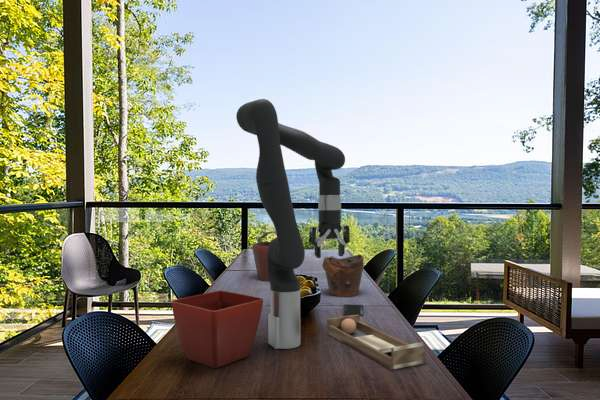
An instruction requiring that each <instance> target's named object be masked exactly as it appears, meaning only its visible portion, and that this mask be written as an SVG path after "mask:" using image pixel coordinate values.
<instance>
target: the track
mask: <svg viewBox="0 0 600 400" xmlns="http://www.w3.org/2000/svg"><path fill="white" fill-rule="evenodd" d="M347 318H349V319H352V320H354V322H355V323H356V330H355V331H354V332H353V333H351V334H347V333H345V332H343V331H342V329H341V323H342V321H343V320H345V319H347ZM360 318H361V317H360V315H351V316H338V317H331V318H327V321H326V322H327V324H326V326H327V328H326V329H327V335H329V336H331V337H332V338H334V339H335V340H337V341H340V342H341V343H342V344H345V345H346V346H347V347H350V348H352V349H353V350H355V351H357V352H359V353H360V354H362V355H363V356H365V357H367V358H369V359H371V360H372V361H374V362H376V363H378V364H379V365H381V366H383V367H385V368H386V369H388V370H390V371H392V370H397V369H402V368H408V367H413V366H417V365H424V364H426V362H427V351H424V346H425V344H424V342H423V341H420V342H415V343H408V342H405V341H403V340H401V339H399V338H396V337H395V336H392V335H390V334H388V333H386V332H383V330H380V329H378V328H376V327H373V326H370V325H369V324H367V323H365V322H363V321H360V320H361V319H360Z"/></svg>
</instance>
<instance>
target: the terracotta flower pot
mask: <svg viewBox="0 0 600 400" xmlns="http://www.w3.org/2000/svg"><path fill="white" fill-rule="evenodd" d="M364 265H365V264H364V256H363V254H356V255H354V256H349V257H343V258H342V257H341V258H338V257H335V256H332V255H331V256H329V257H328V256H325V257H324V258H323V262H322V269H323V270H324V271H325V277H326V281H327V282H326V283H327V287H328V291H329V292H328V293H329V295H331V296H335V297H346V298H347V297H355V296H357V295H359V292H360V291H359V290H360V286H361V281H362V275H363V272H364Z"/></svg>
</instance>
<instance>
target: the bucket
mask: <svg viewBox="0 0 600 400" xmlns="http://www.w3.org/2000/svg"><path fill="white" fill-rule="evenodd" d="M270 234H276V230H275V231H267V232H264V233H262V234H261V235H260V236H259V237H258V238H257V241H256V242H257V243H255V242H254V243H252V253H253V259H254V263H255V268H256V273H257V279H258V280H260V281H262V282H269V279H268V269H267V250H268V246H269V244H270V242H271V241H262V239H265V238H266V237H267V236H268V235H270Z"/></svg>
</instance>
